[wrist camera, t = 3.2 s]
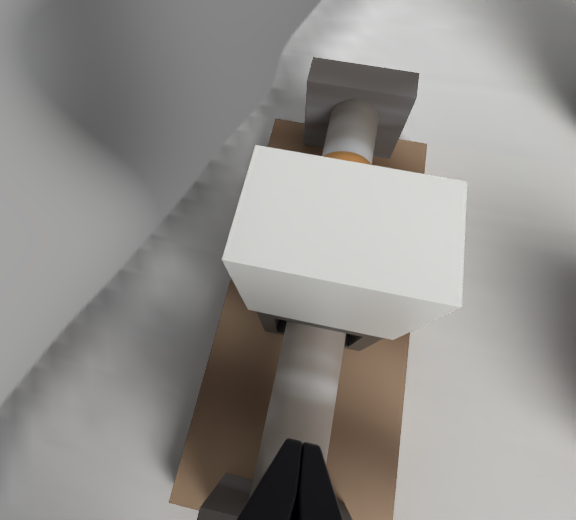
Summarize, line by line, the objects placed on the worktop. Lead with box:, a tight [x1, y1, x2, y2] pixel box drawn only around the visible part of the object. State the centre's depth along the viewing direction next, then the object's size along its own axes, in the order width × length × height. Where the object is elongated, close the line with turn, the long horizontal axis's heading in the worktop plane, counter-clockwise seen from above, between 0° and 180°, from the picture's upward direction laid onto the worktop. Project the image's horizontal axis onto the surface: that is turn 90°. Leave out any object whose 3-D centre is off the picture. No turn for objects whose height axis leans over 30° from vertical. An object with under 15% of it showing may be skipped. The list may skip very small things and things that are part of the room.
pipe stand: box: [169, 57, 427, 520], centre depth 16 cm, size 20×9×6 cm, turn 168°
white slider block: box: [222, 145, 467, 351], centre depth 12 cm, size 3×5×9 cm, turn 78°
